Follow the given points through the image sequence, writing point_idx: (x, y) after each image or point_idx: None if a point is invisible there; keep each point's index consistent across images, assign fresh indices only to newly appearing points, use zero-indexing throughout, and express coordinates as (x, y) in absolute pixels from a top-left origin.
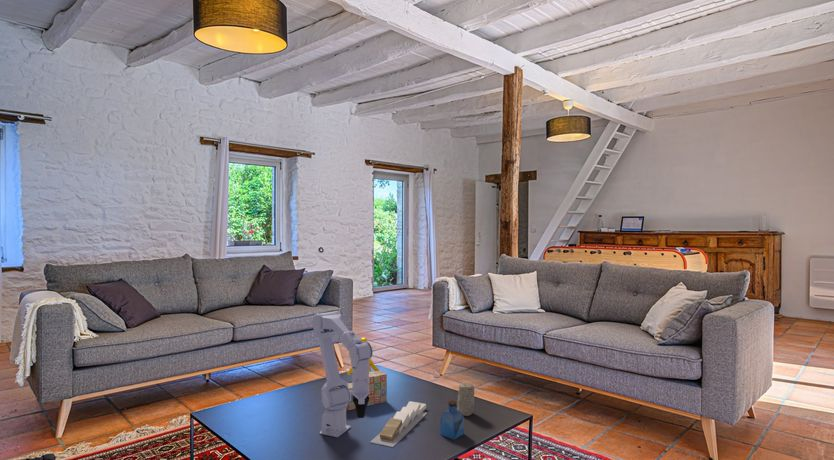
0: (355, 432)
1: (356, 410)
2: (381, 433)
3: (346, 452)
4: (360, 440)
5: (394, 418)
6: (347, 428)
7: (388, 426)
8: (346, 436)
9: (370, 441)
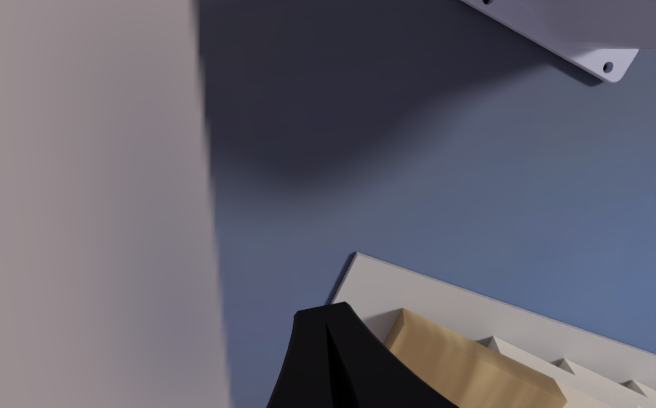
0: (522, 129)
1: (277, 386)
2: (410, 336)
3: (202, 109)
4: (393, 184)
5: (580, 403)
6: (582, 61)
7: (472, 383)
8: (467, 68)
9: (362, 256)
